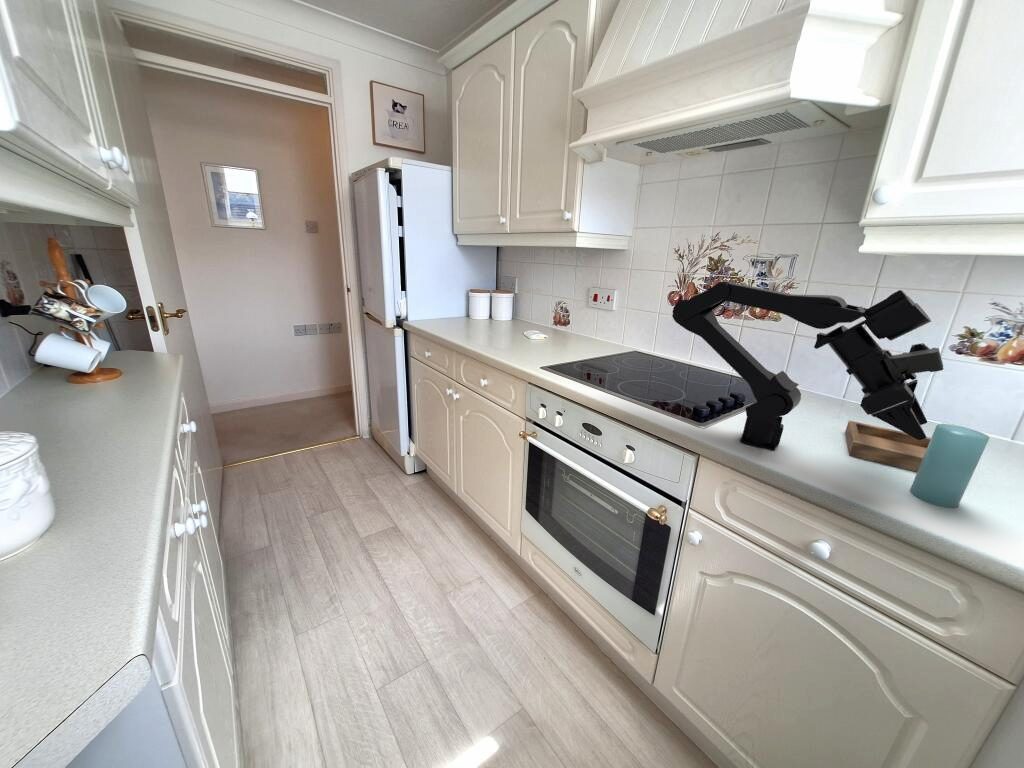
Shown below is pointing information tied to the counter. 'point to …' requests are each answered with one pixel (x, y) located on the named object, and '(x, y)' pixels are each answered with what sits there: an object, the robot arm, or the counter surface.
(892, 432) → the tray
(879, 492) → the counter surface
